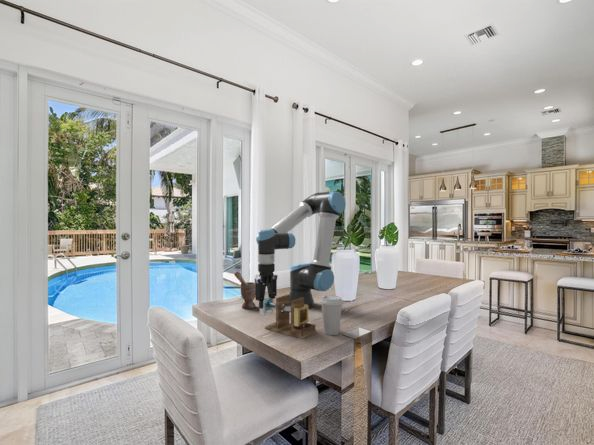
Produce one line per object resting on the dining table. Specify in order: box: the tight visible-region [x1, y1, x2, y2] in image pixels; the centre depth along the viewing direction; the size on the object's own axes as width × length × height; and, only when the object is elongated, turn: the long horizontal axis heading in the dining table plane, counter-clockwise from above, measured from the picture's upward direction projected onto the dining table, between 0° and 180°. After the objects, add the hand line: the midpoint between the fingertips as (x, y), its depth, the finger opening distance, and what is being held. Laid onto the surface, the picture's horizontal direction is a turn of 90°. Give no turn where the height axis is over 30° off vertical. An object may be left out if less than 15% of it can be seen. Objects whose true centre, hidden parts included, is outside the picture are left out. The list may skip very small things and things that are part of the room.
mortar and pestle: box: [234, 271, 257, 310], centre depth 169 cm, size 12×9×20 cm
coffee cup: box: [320, 294, 344, 336], centre depth 132 cm, size 10×10×15 cm
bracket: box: [264, 294, 317, 340], centre depth 135 cm, size 20×10×14 cm, turn 54°
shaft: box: [264, 297, 301, 314], centre depth 138 cm, size 20×5×5 cm, turn 54°
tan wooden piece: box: [294, 304, 309, 327], centre depth 131 cm, size 2×7×7 cm, turn 144°
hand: (266, 313), depth 143 cm, fingers closed on shaft, 5 cm apart
